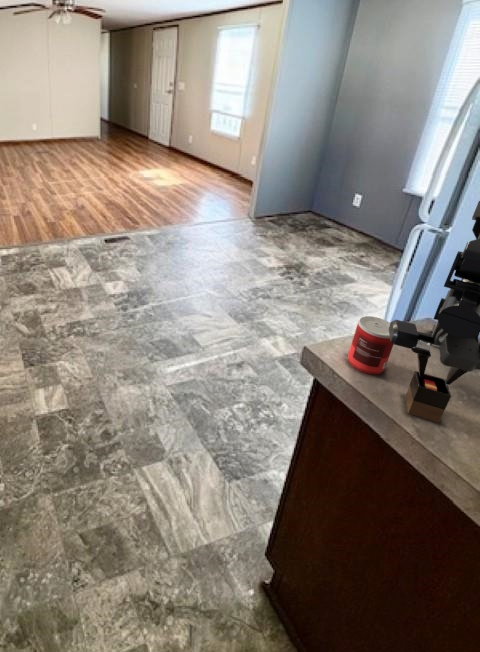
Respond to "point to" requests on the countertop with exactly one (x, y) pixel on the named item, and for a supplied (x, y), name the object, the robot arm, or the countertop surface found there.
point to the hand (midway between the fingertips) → (433, 379)
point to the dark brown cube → (422, 409)
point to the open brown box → (430, 391)
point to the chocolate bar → (429, 384)
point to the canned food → (370, 345)
